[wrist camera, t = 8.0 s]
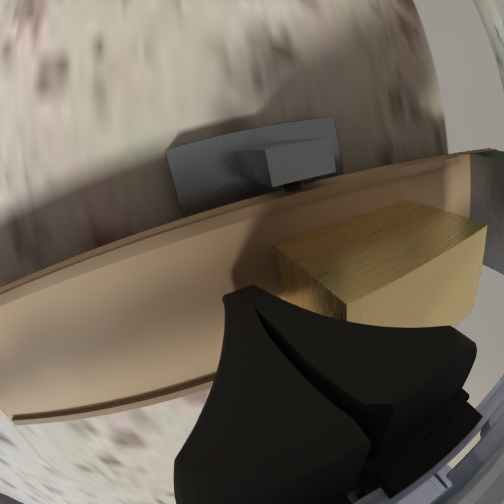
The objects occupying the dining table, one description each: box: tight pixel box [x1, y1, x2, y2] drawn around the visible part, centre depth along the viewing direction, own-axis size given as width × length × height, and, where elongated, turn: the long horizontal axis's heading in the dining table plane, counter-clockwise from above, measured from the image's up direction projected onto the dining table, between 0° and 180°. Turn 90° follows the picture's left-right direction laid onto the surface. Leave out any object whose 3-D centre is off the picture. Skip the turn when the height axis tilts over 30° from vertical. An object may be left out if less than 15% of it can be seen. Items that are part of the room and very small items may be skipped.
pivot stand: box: [165, 117, 343, 218], centre depth 12 cm, size 12×8×5 cm, turn 12°
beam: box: [0, 148, 504, 425], centre depth 9 cm, size 8×36×6 cm, turn 102°
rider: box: [272, 200, 487, 328], centre depth 9 cm, size 4×7×4 cm, turn 102°
